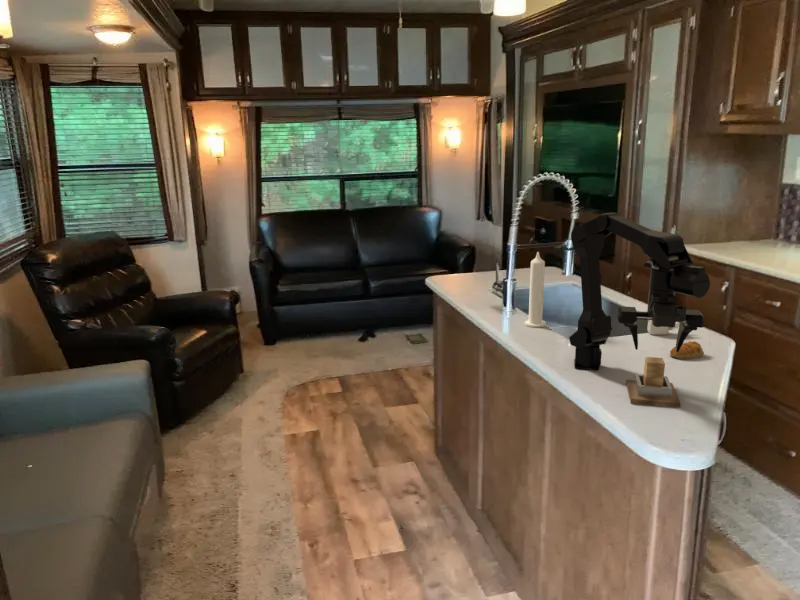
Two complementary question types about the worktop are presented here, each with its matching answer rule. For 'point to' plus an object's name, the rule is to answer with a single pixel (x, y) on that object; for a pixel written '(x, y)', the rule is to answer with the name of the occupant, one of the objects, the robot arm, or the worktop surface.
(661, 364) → the rail post
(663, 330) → the power adapter
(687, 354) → the pastry
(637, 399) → the plate
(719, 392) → the worktop surface
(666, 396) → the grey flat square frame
